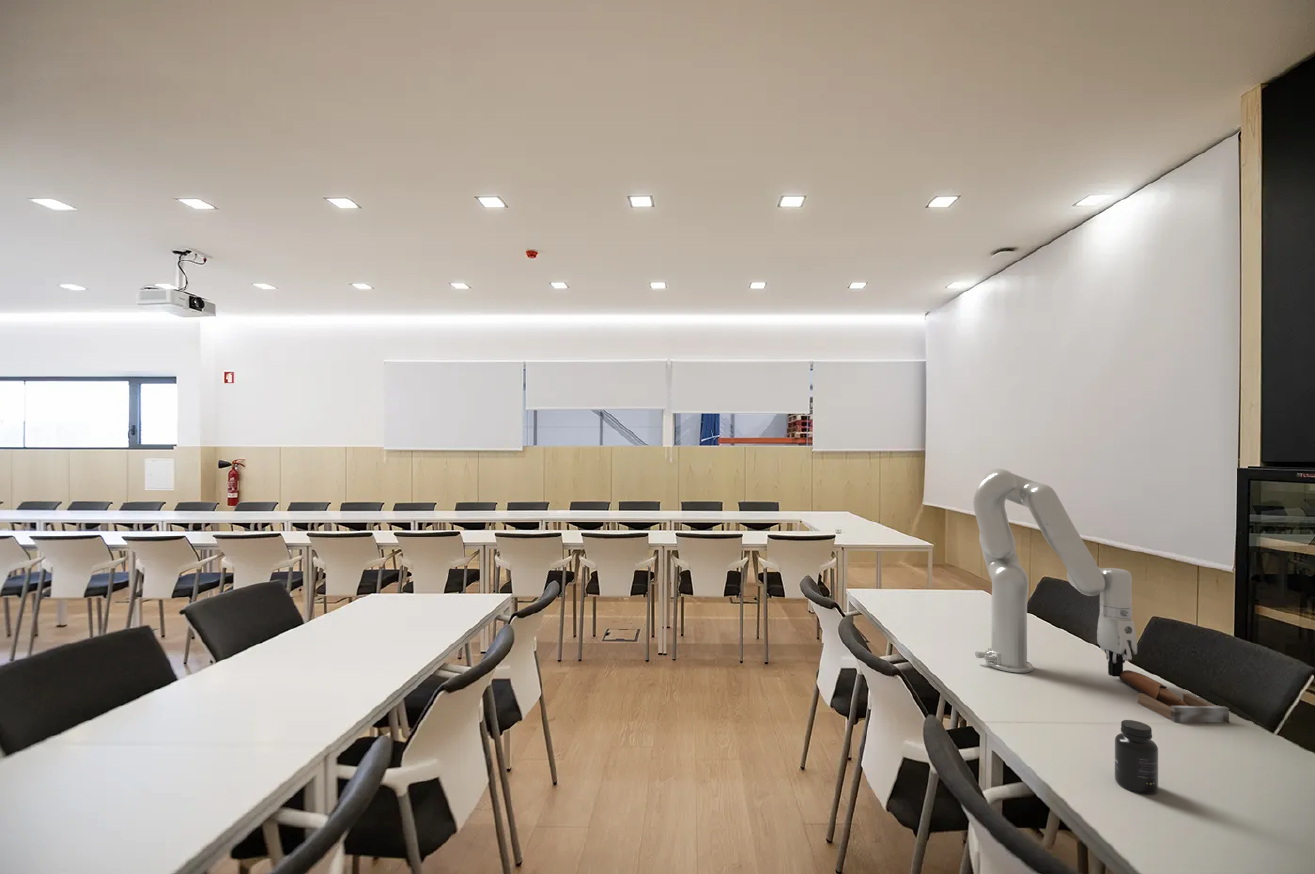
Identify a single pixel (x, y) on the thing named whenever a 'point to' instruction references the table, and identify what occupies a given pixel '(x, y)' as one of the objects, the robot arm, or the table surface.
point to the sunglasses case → (1151, 688)
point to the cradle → (1187, 709)
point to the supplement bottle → (1136, 758)
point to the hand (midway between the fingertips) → (1115, 675)
